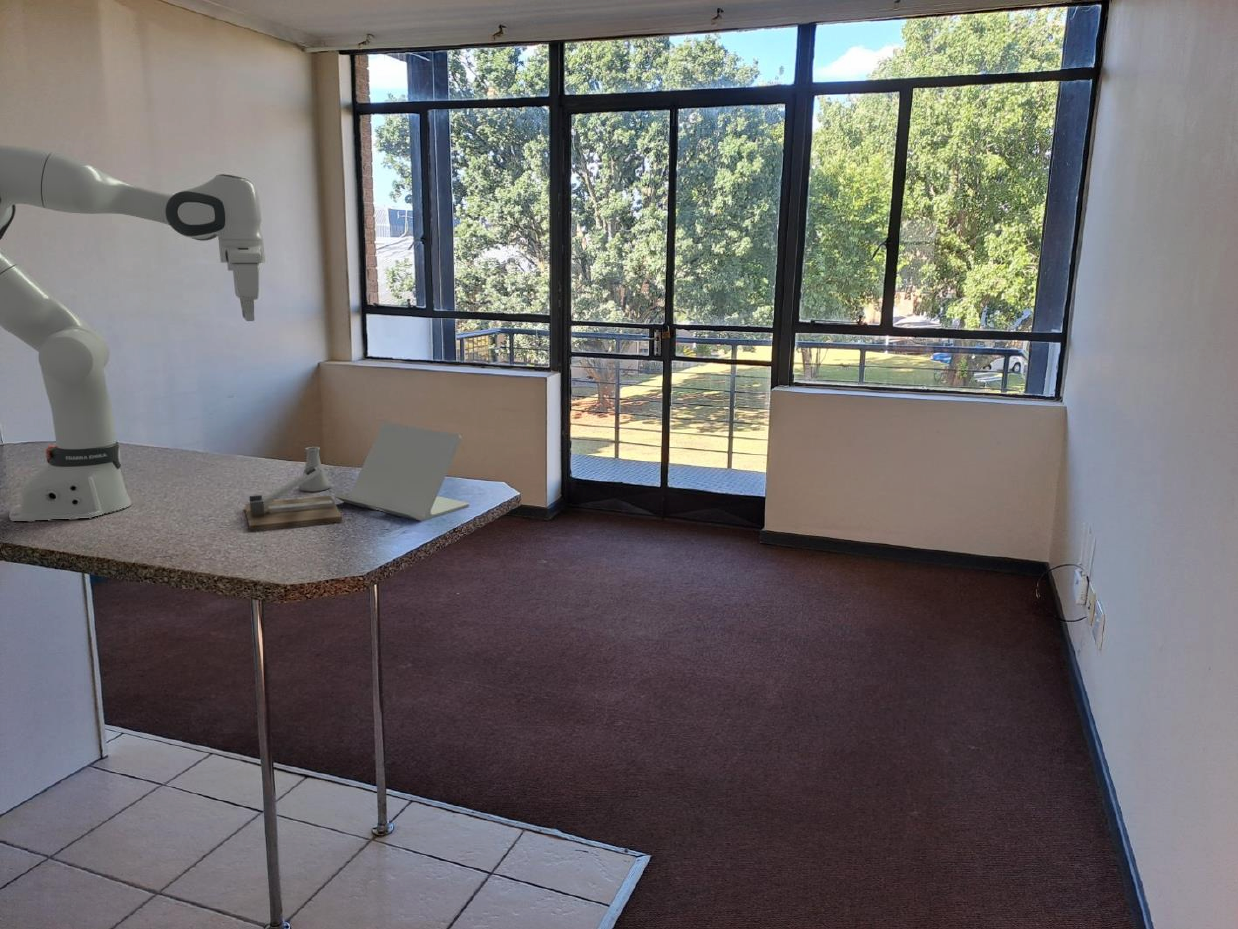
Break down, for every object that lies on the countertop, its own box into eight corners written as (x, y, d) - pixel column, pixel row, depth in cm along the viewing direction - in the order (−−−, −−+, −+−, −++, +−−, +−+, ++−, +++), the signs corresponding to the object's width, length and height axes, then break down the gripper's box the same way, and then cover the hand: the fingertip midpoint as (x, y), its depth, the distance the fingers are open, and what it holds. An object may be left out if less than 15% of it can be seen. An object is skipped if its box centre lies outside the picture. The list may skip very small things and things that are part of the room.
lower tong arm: (252, 517, 182) (250, 502, 182) (250, 510, 188) (249, 495, 187) (334, 509, 189) (333, 495, 189) (330, 502, 194) (330, 488, 194)
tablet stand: (394, 489, 212) (391, 420, 208) (470, 506, 198) (469, 432, 194) (332, 506, 197) (328, 431, 193) (410, 525, 183) (407, 446, 180)
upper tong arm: (255, 514, 184) (250, 506, 183) (254, 510, 187) (249, 502, 186) (324, 474, 188) (318, 466, 187) (321, 470, 191) (316, 462, 190)
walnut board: (249, 531, 177) (249, 525, 177) (245, 508, 193) (245, 503, 193) (342, 521, 184) (341, 516, 184) (330, 500, 200) (330, 495, 200)
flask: (310, 494, 206) (308, 452, 204) (293, 489, 210) (290, 448, 208) (337, 488, 212) (334, 447, 209) (319, 483, 216) (316, 443, 214)
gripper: (224, 254, 196) (230, 317, 199) (228, 254, 178) (235, 323, 181) (254, 254, 198) (260, 316, 201) (261, 254, 180) (267, 322, 184)
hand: (248, 319), depth 191 cm, fingers open, 8 cm apart
